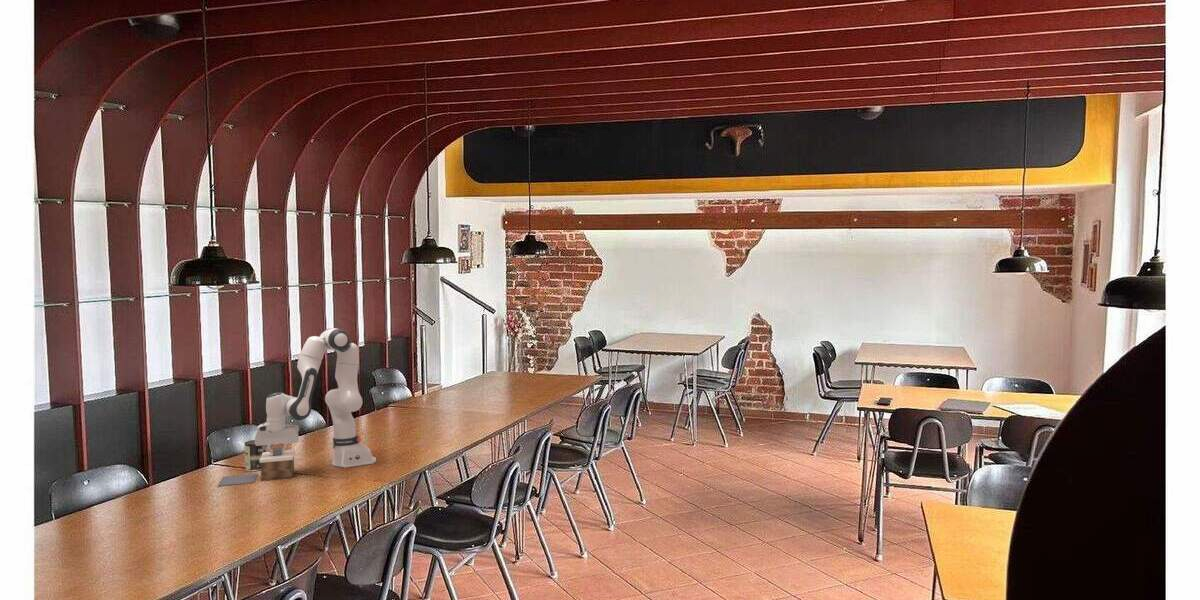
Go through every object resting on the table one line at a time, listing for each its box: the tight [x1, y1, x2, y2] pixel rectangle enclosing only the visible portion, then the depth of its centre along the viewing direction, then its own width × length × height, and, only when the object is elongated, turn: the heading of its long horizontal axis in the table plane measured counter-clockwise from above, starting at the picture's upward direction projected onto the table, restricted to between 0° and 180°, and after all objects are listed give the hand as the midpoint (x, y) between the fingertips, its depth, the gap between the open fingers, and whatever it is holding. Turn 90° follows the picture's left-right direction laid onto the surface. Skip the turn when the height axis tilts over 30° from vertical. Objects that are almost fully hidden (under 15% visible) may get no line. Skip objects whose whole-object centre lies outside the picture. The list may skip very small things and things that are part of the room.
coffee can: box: [243, 439, 267, 472], centre depth 399 cm, size 10×10×14 cm
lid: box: [260, 447, 296, 463], centre depth 385 cm, size 15×15×4 cm
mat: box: [217, 473, 259, 487], centre depth 378 cm, size 16×16×1 cm
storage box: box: [260, 456, 295, 481], centre depth 385 cm, size 14×14×9 cm
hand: (277, 452), depth 385 cm, fingers closed on lid, 4 cm apart
